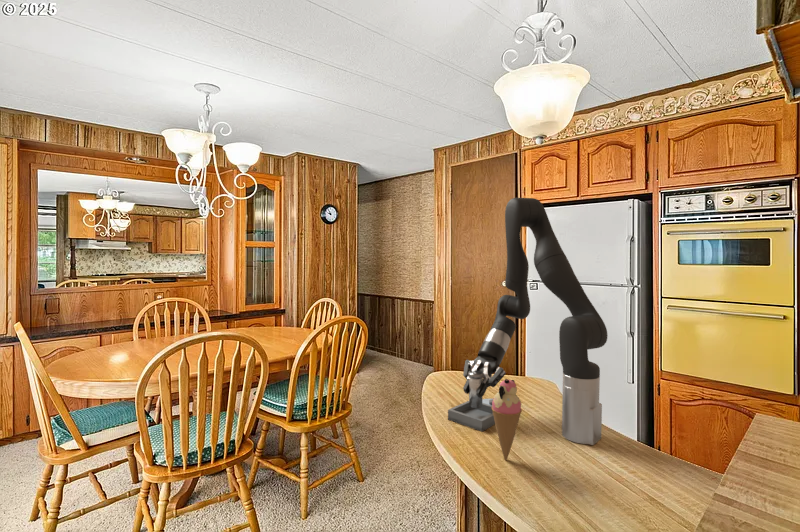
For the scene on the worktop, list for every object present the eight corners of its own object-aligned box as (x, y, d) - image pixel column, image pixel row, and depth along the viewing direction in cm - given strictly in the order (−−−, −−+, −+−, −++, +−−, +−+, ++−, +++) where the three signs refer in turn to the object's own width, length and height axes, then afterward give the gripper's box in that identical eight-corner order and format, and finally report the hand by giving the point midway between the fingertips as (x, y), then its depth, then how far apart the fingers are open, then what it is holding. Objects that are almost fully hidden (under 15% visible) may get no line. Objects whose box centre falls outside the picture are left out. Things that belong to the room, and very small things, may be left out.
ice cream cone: (513, 470, 97) (514, 385, 97) (485, 461, 102) (485, 379, 101) (527, 457, 104) (528, 377, 103) (500, 448, 108) (501, 371, 107)
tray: (504, 419, 127) (504, 409, 127) (481, 431, 118) (481, 421, 118) (471, 408, 135) (471, 399, 135) (447, 419, 127) (447, 409, 127)
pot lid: (514, 408, 135) (515, 391, 135) (498, 417, 128) (498, 399, 128) (488, 400, 142) (488, 384, 142) (471, 408, 135) (471, 391, 135)
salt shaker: (486, 405, 127) (486, 372, 126) (477, 409, 124) (478, 376, 123) (473, 401, 130) (474, 369, 130) (464, 405, 127) (465, 372, 126)
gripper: (471, 336, 136) (447, 382, 128) (510, 343, 126) (487, 393, 118) (480, 349, 140) (457, 394, 132) (519, 357, 130) (497, 407, 122)
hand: (472, 394), depth 125 cm, fingers closed on salt shaker, 4 cm apart
